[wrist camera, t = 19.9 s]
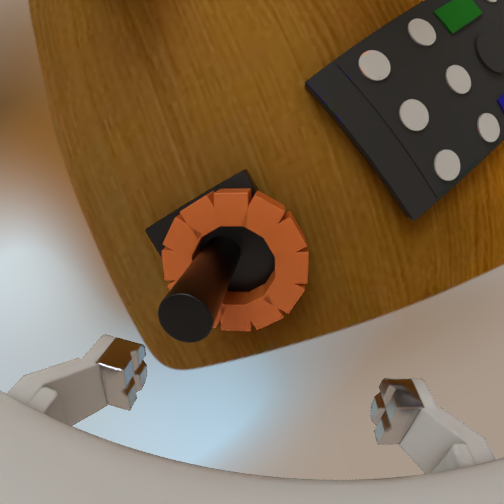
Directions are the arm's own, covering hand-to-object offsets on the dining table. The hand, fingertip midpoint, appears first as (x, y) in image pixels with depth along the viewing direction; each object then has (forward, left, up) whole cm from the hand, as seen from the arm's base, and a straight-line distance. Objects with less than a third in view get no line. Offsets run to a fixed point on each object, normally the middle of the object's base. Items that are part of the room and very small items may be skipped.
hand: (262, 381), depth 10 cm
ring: (+1, +2, -12) cm, 12 cm away
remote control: (+7, -23, -13) cm, 28 cm away
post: (+2, +3, -13) cm, 14 cm away
